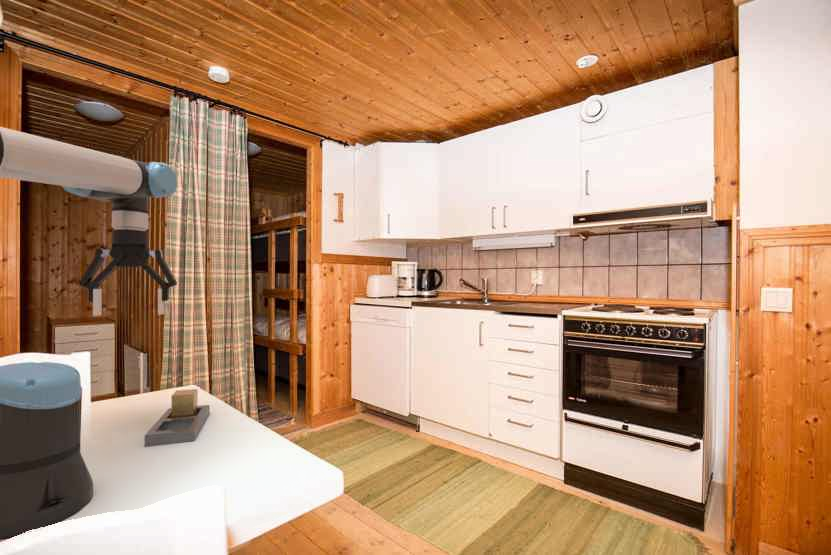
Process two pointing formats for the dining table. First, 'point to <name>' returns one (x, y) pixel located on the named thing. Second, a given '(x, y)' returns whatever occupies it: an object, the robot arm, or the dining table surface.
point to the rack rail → (176, 428)
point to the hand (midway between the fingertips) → (129, 314)
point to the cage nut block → (184, 403)
